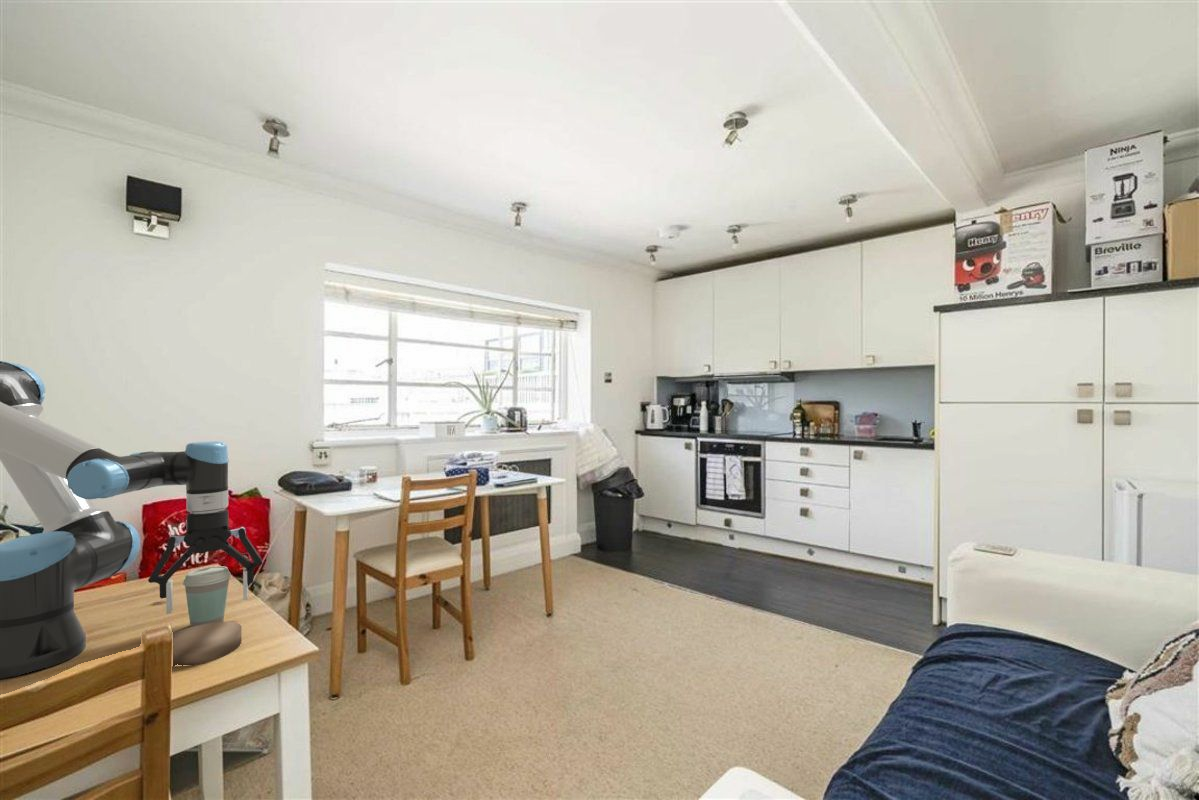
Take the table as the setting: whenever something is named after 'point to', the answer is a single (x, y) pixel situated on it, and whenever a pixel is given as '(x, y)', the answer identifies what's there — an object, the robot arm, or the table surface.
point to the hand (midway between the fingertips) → (208, 604)
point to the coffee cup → (207, 594)
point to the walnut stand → (205, 642)
